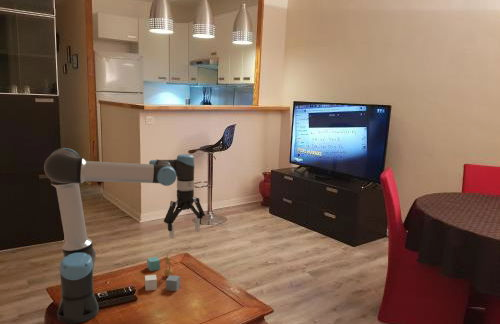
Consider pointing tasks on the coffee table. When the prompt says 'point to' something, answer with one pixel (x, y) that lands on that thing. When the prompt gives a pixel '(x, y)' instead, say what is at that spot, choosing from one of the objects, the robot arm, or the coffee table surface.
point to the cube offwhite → (150, 282)
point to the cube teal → (153, 263)
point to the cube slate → (172, 283)
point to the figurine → (168, 270)
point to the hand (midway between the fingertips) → (184, 234)
